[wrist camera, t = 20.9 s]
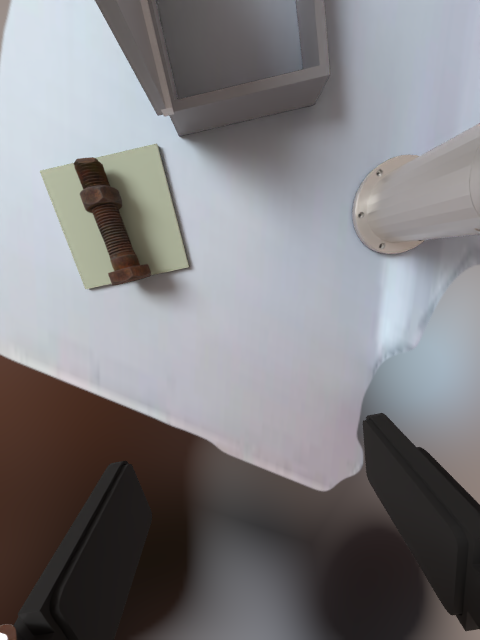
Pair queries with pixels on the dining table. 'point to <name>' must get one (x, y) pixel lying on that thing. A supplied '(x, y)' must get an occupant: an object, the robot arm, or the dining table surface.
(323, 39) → the case
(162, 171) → the mat
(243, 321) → the dining table surface
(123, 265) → the bolt
